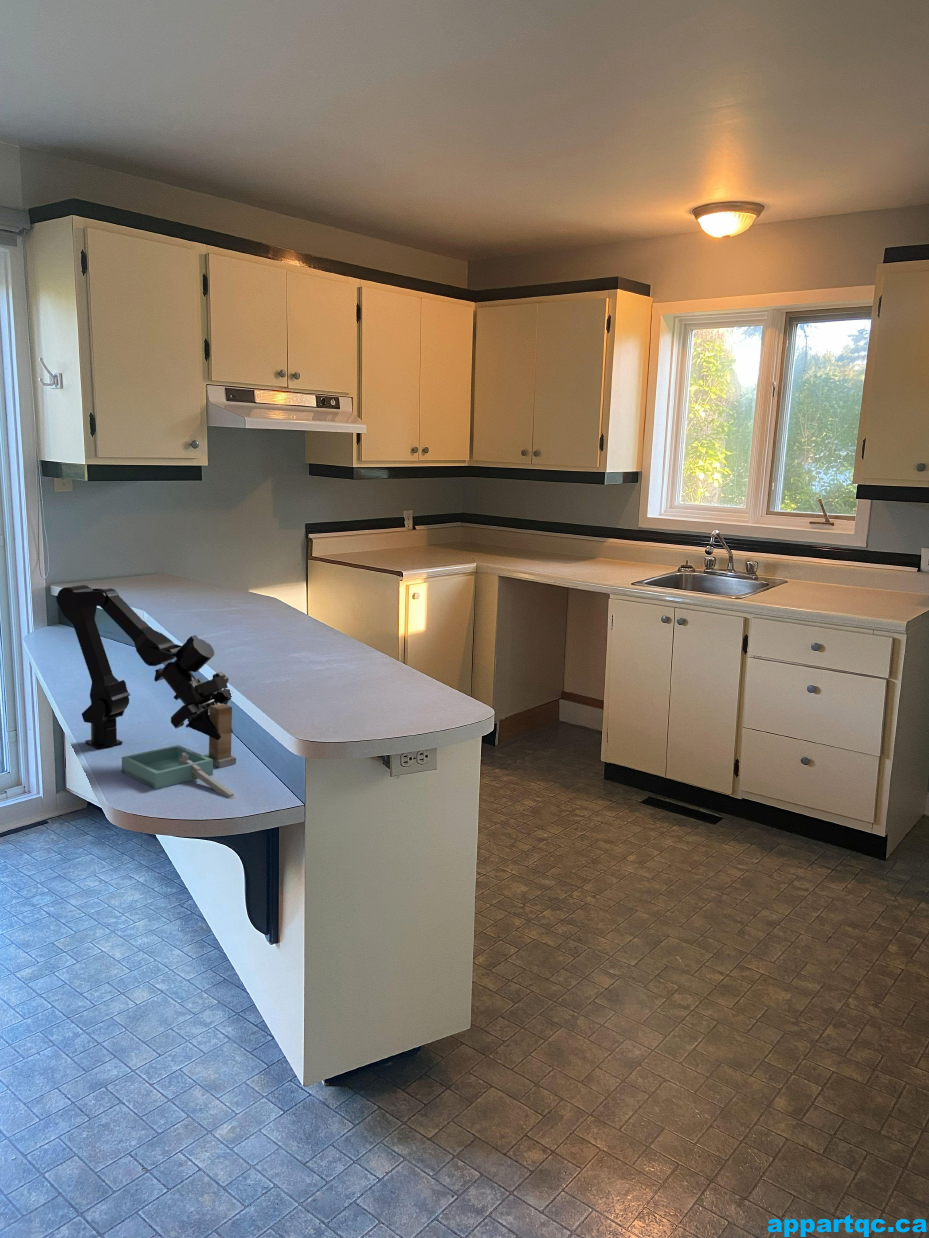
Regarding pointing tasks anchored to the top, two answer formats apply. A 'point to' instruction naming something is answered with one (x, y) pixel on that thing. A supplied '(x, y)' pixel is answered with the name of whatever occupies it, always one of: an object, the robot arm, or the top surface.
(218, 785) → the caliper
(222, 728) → the tall tan wooden block
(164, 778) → the tray
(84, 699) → the top surface
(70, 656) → the top surface
